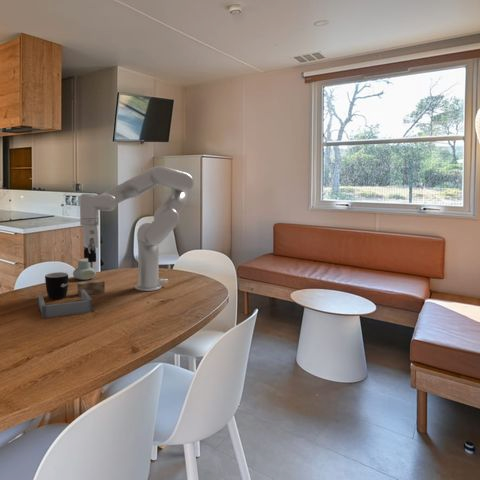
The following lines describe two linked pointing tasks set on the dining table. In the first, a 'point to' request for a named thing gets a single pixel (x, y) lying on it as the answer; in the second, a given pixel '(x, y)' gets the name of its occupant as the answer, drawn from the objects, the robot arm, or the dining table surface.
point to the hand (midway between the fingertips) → (89, 259)
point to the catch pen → (66, 306)
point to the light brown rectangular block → (91, 287)
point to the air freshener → (84, 270)
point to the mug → (56, 285)
